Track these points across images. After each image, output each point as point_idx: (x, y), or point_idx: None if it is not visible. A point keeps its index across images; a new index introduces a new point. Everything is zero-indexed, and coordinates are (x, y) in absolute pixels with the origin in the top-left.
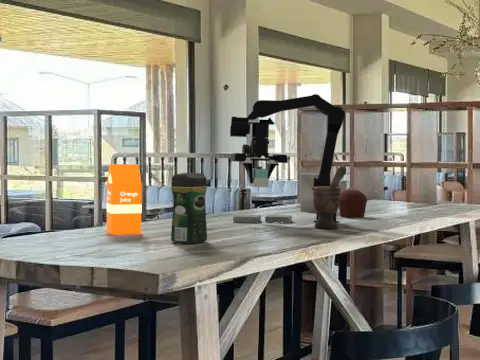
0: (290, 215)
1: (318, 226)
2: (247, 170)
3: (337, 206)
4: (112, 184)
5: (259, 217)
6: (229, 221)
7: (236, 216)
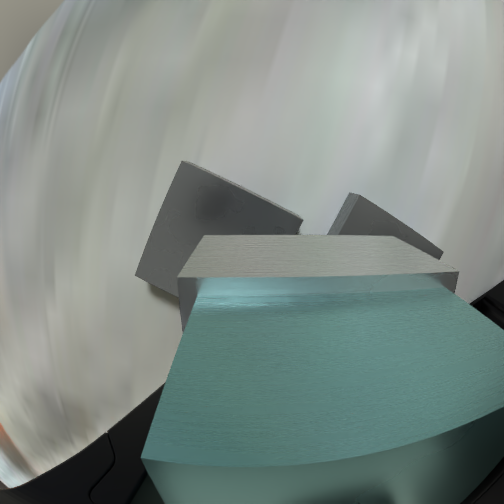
0: (435, 257)
1: None
2: (94, 490)
3: None
4: None
5: None
6: (136, 215)
7: (149, 278)
